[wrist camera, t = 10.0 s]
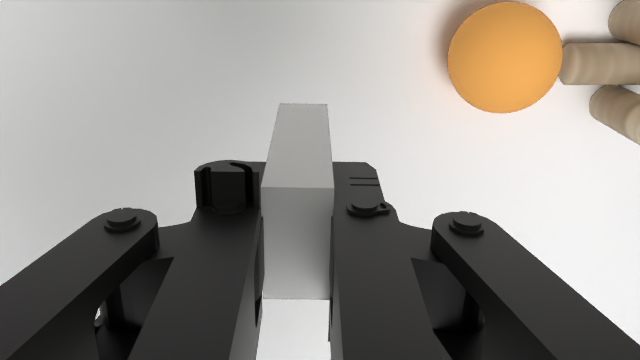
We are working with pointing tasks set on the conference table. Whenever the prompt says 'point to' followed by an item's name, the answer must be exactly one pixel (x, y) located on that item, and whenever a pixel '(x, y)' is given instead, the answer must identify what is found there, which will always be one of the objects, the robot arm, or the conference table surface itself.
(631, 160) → the conference table surface
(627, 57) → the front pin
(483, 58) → the ball
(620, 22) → the pin
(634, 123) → the pin
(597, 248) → the conference table surface
